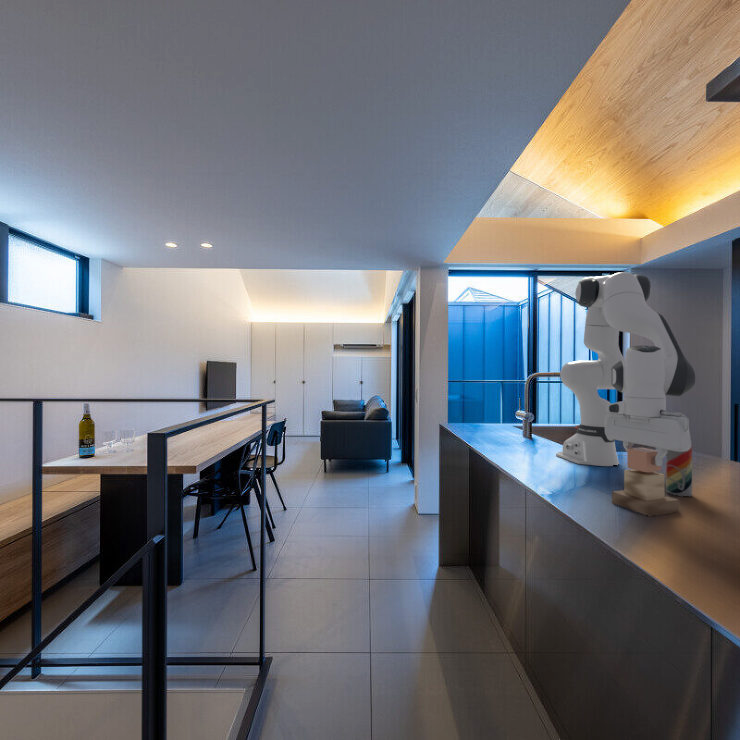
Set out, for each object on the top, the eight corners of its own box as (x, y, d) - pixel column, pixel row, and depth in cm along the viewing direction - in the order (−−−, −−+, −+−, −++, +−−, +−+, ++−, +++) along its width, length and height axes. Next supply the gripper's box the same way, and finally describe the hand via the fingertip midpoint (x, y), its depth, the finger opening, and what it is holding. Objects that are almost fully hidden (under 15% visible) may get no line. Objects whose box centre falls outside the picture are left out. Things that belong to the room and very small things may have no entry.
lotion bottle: (670, 495, 108) (670, 424, 108) (663, 489, 113) (663, 422, 113) (695, 498, 106) (695, 425, 106) (686, 491, 111) (686, 422, 111)
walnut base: (611, 502, 102) (611, 491, 102) (639, 499, 105) (639, 488, 105) (649, 516, 92) (649, 504, 92) (678, 511, 95) (678, 499, 95)
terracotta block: (627, 467, 100) (627, 448, 100) (641, 466, 102) (641, 447, 102) (646, 472, 95) (646, 452, 95) (661, 470, 97) (661, 451, 97)
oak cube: (624, 493, 101) (624, 470, 101) (641, 490, 102) (641, 468, 102) (646, 500, 95) (646, 476, 95) (664, 498, 97) (664, 474, 97)
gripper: (697, 412, 90) (697, 471, 90) (617, 404, 109) (617, 453, 109) (678, 413, 88) (678, 473, 88) (600, 405, 107) (600, 454, 107)
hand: (644, 462), depth 99 cm, fingers open, 5 cm apart
